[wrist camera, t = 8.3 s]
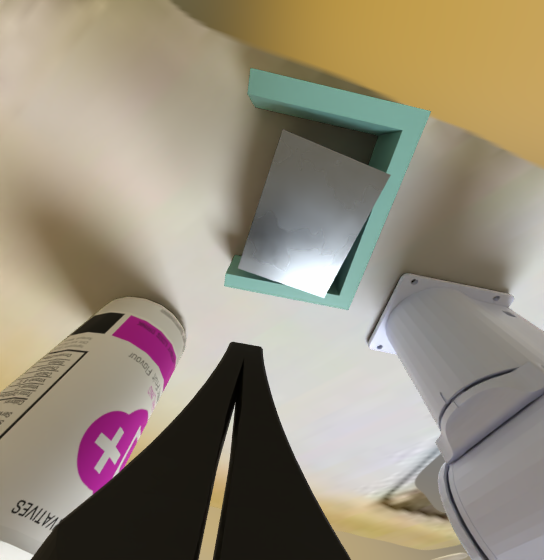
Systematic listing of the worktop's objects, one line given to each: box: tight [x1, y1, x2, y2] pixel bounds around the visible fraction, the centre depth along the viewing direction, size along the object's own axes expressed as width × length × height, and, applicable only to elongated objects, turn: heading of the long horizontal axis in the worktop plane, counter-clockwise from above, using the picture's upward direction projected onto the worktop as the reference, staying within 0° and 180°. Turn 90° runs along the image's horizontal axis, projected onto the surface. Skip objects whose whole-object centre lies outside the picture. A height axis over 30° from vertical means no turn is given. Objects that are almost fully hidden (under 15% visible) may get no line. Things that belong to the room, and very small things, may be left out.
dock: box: [224, 68, 431, 310], centre depth 16 cm, size 9×12×4 cm
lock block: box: [238, 129, 391, 298], centre depth 16 cm, size 6×8×4 cm
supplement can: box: [0, 297, 186, 560], centre depth 17 cm, size 8×8×15 cm
